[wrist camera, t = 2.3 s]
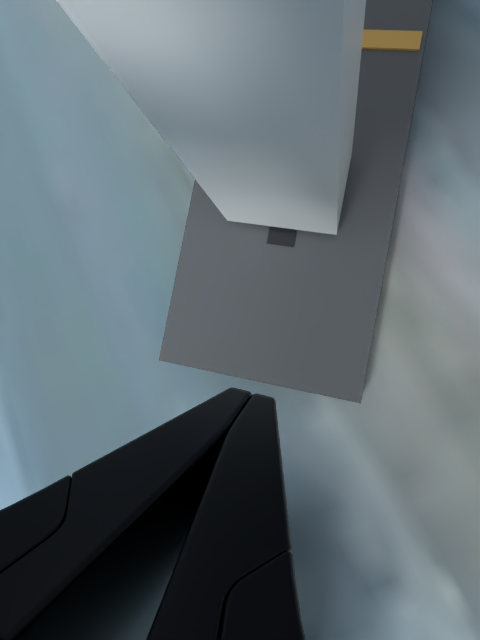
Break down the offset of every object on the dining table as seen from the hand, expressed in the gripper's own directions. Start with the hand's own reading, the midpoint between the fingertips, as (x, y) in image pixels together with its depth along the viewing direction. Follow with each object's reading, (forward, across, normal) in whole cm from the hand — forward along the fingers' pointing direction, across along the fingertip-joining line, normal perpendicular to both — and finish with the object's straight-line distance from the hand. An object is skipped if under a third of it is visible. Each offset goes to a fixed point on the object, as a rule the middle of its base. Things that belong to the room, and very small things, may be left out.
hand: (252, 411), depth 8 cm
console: (+15, +2, -3) cm, 16 cm away
